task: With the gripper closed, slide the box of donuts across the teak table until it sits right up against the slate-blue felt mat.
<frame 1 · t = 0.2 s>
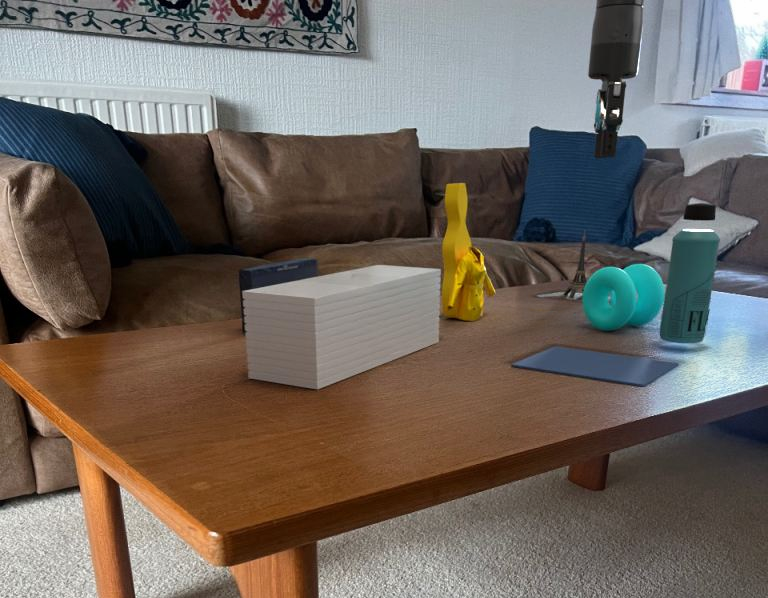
hand: (604, 157, 128), 26 cm above the table, tool pointing down, fingers open, 8 cm apart
figure statuette: (462, 318, 138), on the table
vhs cassette tape: (282, 326, 132), on the table
donuts: (619, 329, 130), on the table
beverage bottle: (679, 350, 115), on the table
stack of papers: (352, 360, 109), on the table
felt mat: (595, 365, 105), on the table
eiffel tower figurine: (579, 301, 157), on the table
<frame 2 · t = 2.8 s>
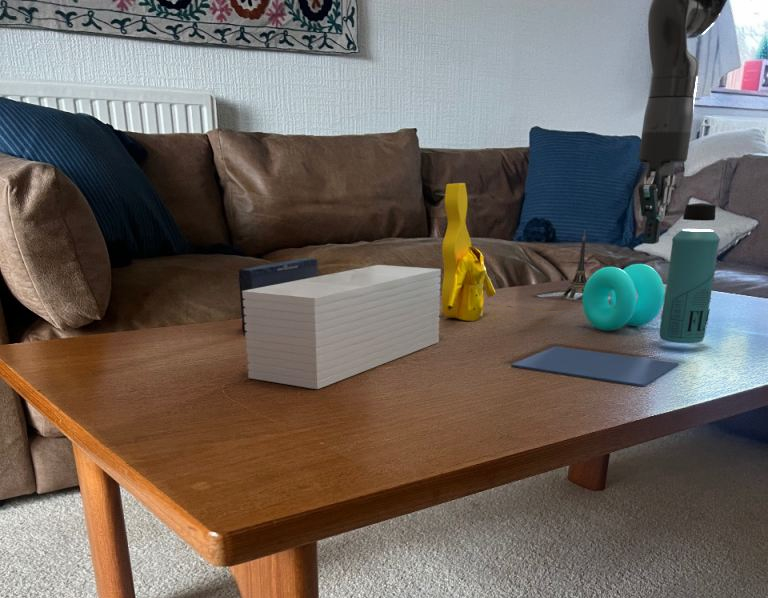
hand: (650, 243, 133), 13 cm above the table, tool pointing down, fingers closed
nothing on the table moved.
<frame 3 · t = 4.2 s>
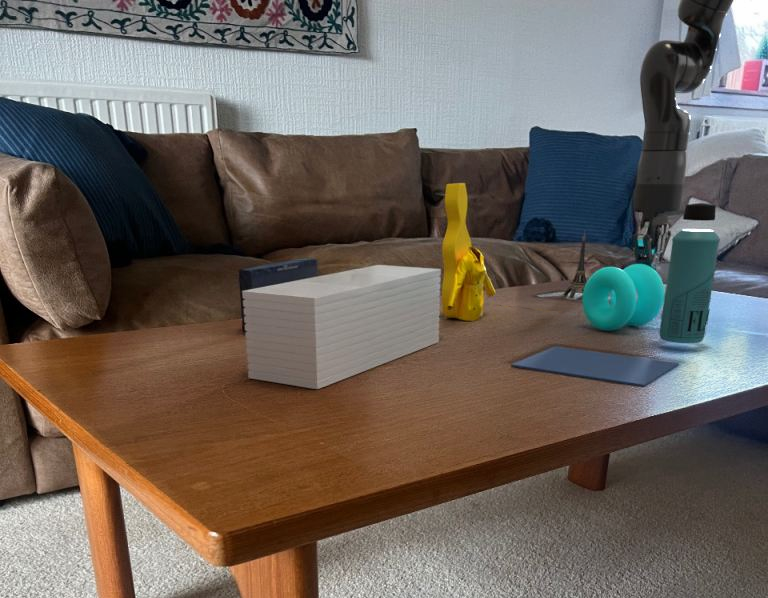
hand: (645, 289, 136), 5 cm above the table, tool pointing down, fingers closed
nothing on the table moved.
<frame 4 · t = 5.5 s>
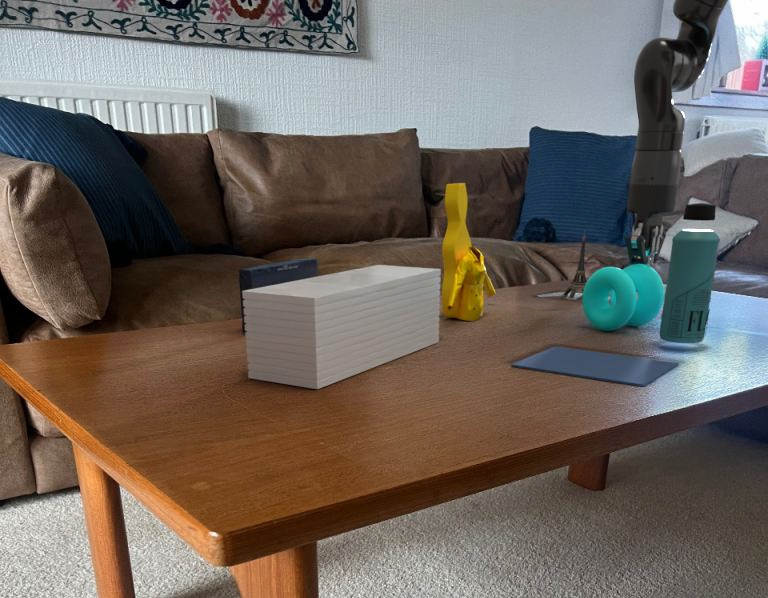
hand: (639, 291, 134), 5 cm above the table, tool pointing down, fingers closed
donuts: (618, 329, 130), on the table, touching gripper
everything else where it was.
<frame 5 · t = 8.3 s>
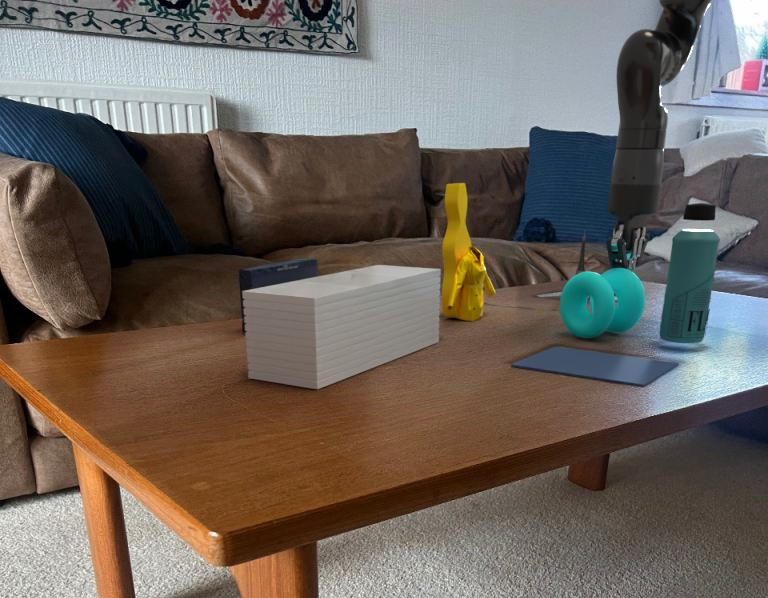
hand: (621, 296, 128), 5 cm above the table, tool pointing down, fingers closed
donuts: (598, 336, 124), on the table, touching gripper
everything else where it was.
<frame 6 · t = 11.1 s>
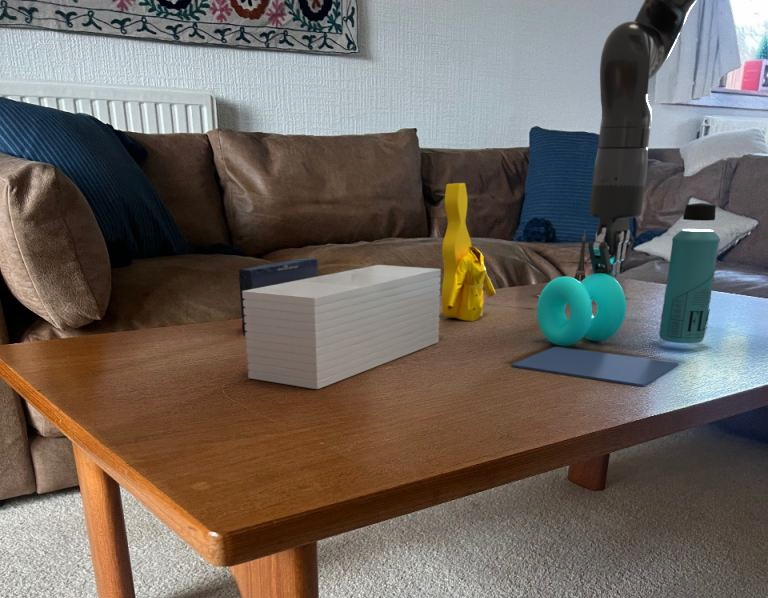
hand: (605, 302, 122), 5 cm above the table, tool pointing down, fingers closed
donuts: (577, 344, 119), on the table, touching gripper
everything else where it was.
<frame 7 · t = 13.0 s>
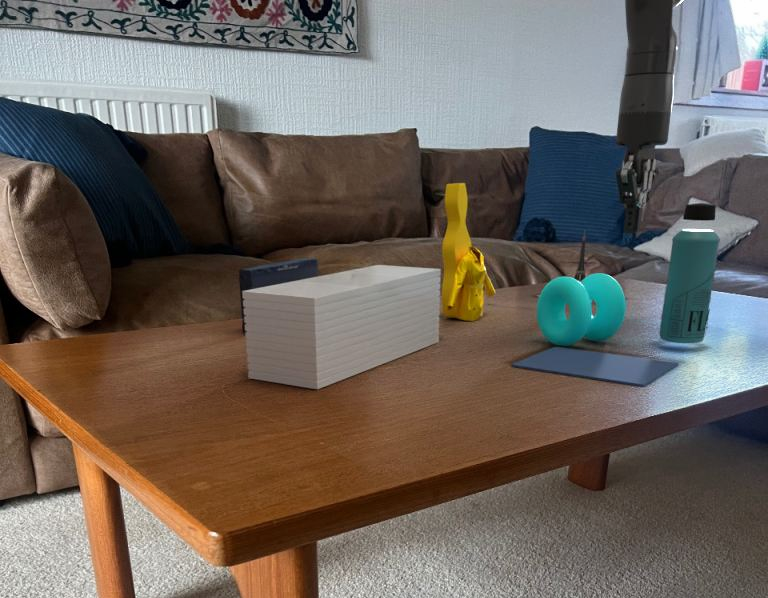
hand: (631, 233, 124), 15 cm above the table, tool pointing down, fingers closed
donuts: (577, 344, 119), on the table
everything else where it was.
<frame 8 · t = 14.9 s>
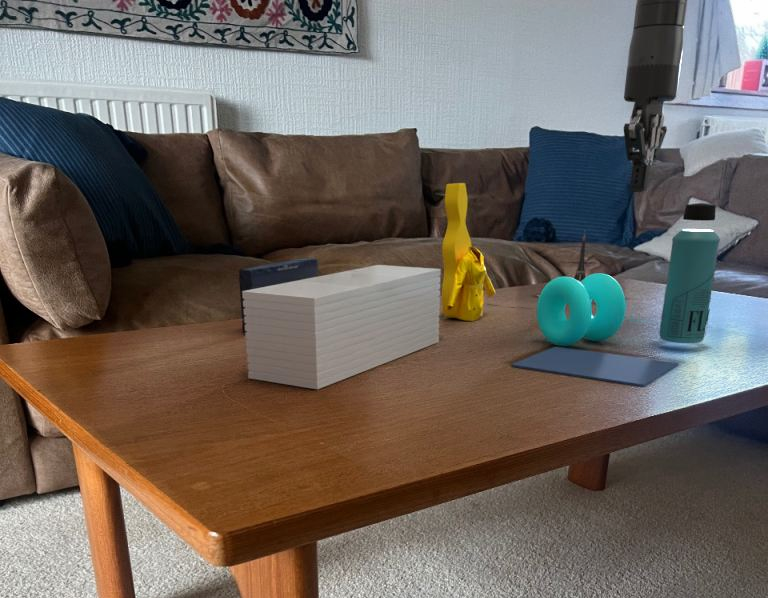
hand: (638, 191, 122), 21 cm above the table, tool pointing down, fingers closed
nothing on the table moved.
at the end: donuts 14.8 cm from the felt mat (horizontally); donuts moved 15.5 cm from its start; donuts tilted 0° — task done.
